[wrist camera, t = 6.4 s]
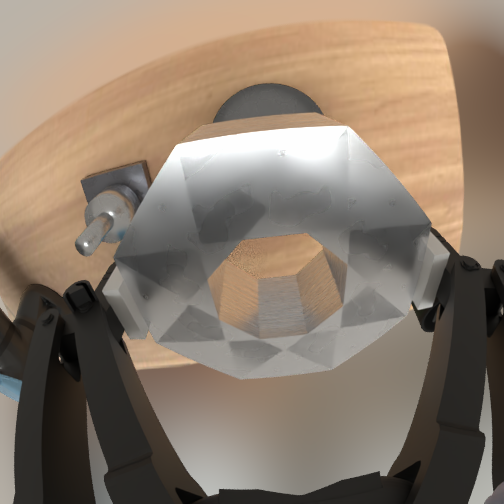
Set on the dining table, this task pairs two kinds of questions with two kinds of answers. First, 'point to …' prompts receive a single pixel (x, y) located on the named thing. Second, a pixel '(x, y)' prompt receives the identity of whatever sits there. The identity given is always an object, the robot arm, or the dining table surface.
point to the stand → (112, 204)
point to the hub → (266, 103)
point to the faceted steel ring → (268, 225)
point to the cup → (427, 316)
